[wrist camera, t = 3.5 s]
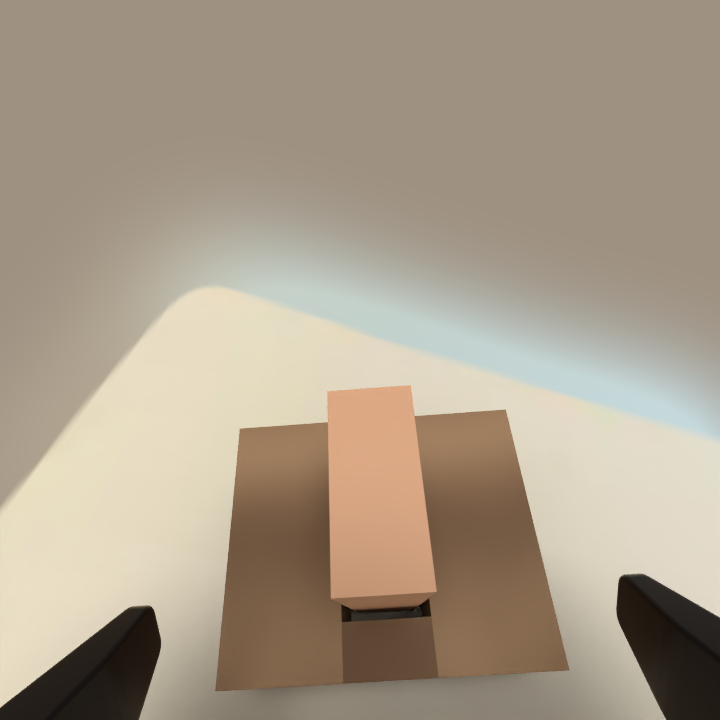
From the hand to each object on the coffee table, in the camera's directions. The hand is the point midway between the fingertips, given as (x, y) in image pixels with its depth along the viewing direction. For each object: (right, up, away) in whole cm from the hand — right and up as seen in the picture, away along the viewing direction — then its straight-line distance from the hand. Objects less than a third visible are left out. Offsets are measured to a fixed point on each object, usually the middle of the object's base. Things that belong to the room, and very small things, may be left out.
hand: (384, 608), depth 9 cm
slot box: (0, -3, +9) cm, 10 cm away
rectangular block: (0, -3, +10) cm, 10 cm away
